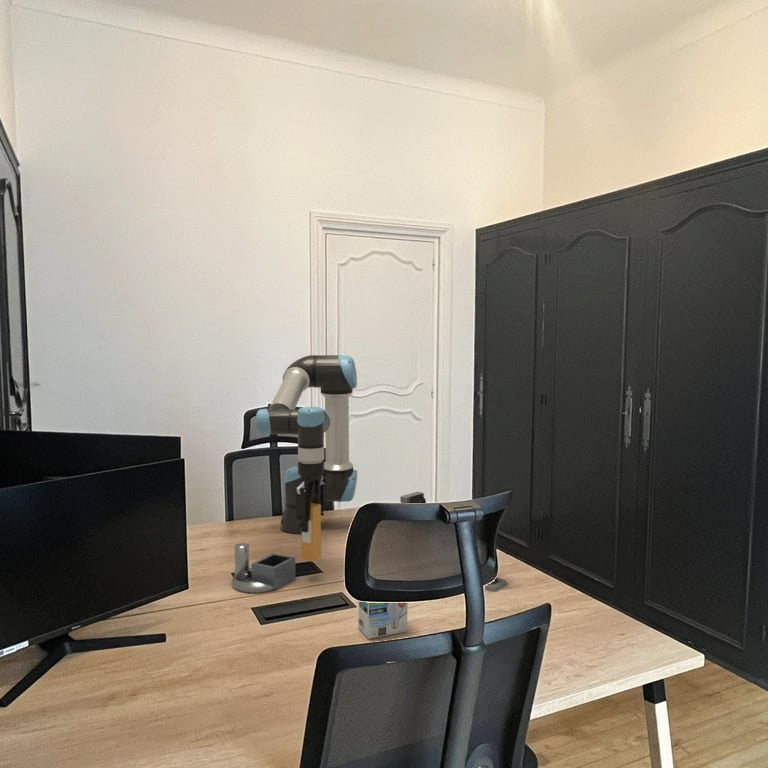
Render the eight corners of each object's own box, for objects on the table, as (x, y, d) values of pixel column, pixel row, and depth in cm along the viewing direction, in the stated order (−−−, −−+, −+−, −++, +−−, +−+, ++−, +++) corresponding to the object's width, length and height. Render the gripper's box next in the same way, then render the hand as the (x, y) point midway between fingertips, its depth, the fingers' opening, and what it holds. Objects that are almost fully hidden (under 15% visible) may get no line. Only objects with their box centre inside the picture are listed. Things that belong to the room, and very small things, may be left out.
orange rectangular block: (309, 555, 188) (309, 502, 187) (320, 557, 187) (320, 504, 185) (301, 559, 185) (301, 505, 183) (313, 561, 183) (313, 507, 182)
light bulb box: (368, 640, 149) (368, 595, 148) (357, 628, 155) (357, 585, 154) (408, 631, 154) (409, 588, 153) (396, 620, 160) (396, 578, 159)
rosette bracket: (254, 570, 193) (254, 534, 192) (295, 579, 186) (295, 542, 185) (220, 587, 180) (220, 549, 179) (263, 597, 173) (263, 558, 172)
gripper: (316, 454, 192) (316, 529, 194) (282, 465, 177) (283, 546, 179) (337, 456, 189) (337, 533, 191) (304, 468, 174) (305, 551, 176)
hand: (311, 539), depth 185 cm, fingers closed on orange rectangular block, 4 cm apart
